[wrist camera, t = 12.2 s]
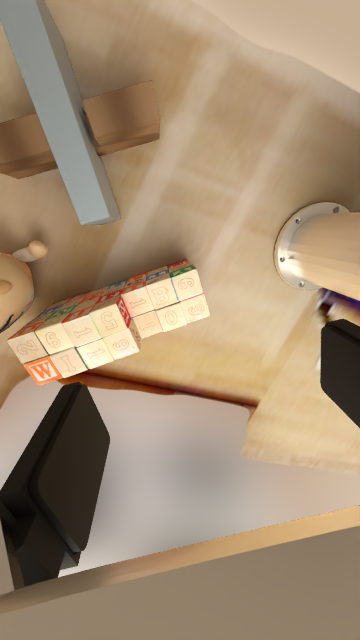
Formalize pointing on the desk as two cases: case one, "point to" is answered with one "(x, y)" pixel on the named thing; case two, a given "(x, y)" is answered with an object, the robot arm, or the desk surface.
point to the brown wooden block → (103, 123)
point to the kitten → (17, 282)
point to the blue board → (59, 107)
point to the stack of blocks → (108, 322)
